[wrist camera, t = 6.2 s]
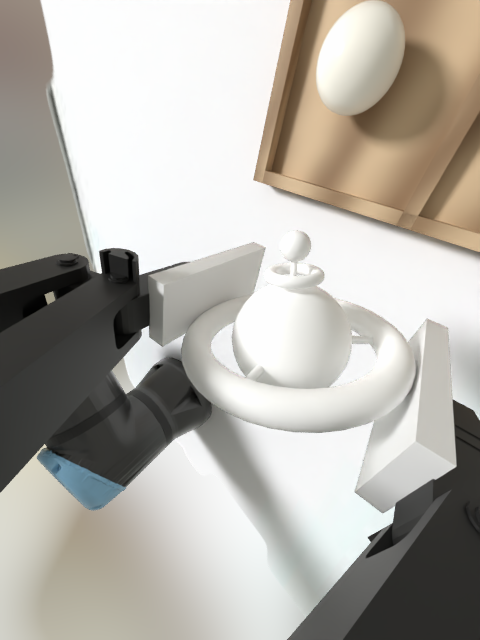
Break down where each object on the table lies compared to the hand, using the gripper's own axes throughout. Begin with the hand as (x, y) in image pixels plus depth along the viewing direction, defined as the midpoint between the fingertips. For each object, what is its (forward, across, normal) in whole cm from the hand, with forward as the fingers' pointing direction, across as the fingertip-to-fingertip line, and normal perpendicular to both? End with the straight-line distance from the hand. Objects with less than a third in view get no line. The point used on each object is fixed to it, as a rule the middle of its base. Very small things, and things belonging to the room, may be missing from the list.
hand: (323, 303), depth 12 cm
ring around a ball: (+1, 0, +1) cm, 1 cm away
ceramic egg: (+13, -6, +10) cm, 18 cm away
